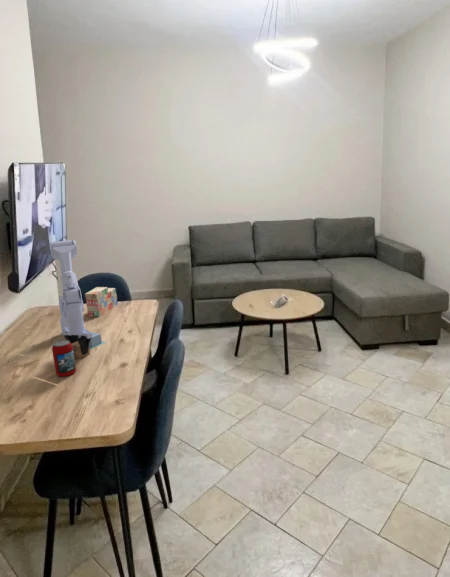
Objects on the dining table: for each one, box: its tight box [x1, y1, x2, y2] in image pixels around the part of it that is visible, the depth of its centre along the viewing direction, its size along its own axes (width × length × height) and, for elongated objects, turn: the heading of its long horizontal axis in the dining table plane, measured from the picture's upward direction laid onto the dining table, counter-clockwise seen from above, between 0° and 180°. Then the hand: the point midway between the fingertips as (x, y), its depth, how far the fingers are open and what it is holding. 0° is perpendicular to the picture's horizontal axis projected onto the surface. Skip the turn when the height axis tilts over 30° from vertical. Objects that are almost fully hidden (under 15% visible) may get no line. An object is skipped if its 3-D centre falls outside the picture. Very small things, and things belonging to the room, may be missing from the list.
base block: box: [78, 331, 102, 347], centre depth 180 cm, size 10×5×4 cm, turn 57°
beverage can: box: [51, 339, 77, 378], centre depth 153 cm, size 7×7×12 cm
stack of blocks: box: [84, 286, 118, 318], centre depth 225 cm, size 21×6×12 cm, turn 169°
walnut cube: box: [72, 341, 91, 359], centre depth 168 cm, size 5×5×5 cm
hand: (80, 352), depth 169 cm, fingers closed on walnut cube, 5 cm apart
